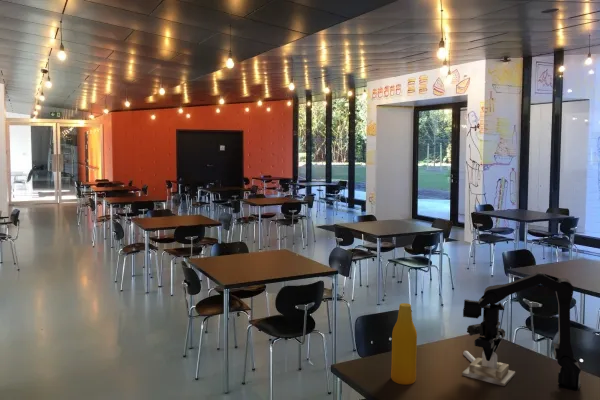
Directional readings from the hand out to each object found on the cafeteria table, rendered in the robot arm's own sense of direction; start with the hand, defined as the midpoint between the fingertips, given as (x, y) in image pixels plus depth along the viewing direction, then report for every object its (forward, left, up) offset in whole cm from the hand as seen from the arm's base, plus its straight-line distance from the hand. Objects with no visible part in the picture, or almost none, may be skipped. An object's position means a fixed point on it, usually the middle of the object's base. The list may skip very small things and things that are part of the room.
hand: (489, 359), depth 206 cm
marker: (+11, -11, -7) cm, 17 cm away
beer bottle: (+24, +25, -6) cm, 35 cm away
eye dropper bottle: (0, 0, -5) cm, 5 cm away
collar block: (0, 0, -6) cm, 6 cm away
